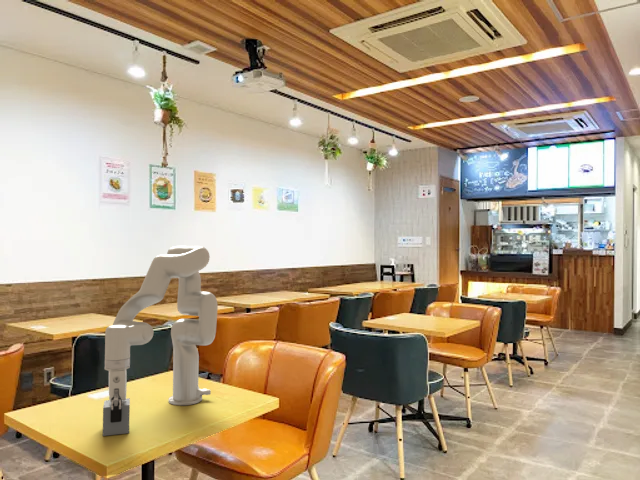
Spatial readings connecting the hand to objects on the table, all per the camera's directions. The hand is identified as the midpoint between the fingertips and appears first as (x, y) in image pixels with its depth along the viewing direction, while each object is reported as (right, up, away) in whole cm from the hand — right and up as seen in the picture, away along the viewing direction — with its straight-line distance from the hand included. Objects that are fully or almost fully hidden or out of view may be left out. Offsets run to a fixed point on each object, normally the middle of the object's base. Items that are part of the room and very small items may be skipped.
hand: (116, 416), depth 159 cm
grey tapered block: (0, -4, 0) cm, 4 cm away
